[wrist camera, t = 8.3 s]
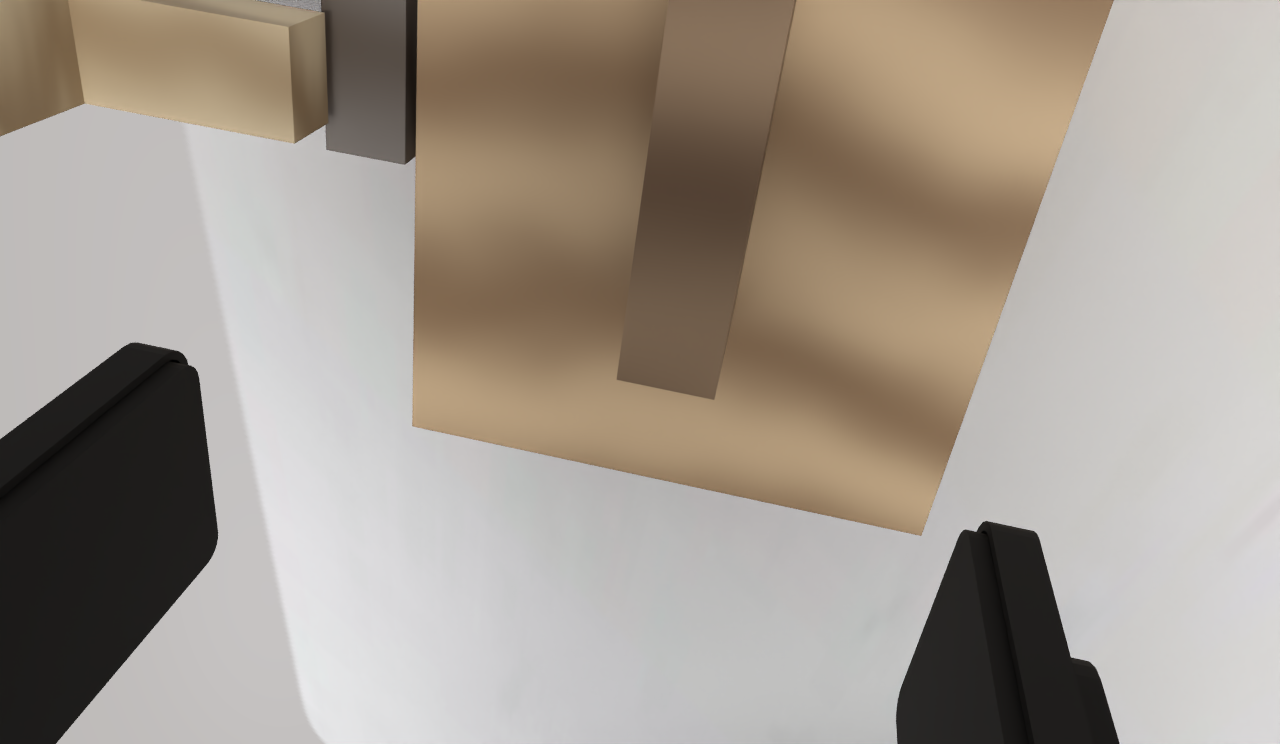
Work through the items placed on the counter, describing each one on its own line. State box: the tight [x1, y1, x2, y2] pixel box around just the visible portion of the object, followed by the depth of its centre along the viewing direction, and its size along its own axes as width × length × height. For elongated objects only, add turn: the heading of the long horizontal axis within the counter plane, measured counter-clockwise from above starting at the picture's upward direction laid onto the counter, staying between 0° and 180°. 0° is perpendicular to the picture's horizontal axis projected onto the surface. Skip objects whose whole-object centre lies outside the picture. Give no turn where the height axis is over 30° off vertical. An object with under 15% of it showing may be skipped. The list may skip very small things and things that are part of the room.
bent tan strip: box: [0, 0, 328, 144], centre depth 24 cm, size 3×9×8 cm, turn 82°
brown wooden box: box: [321, 0, 418, 165], centre depth 31 cm, size 22×19×11 cm
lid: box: [412, 0, 1114, 536], centre depth 25 cm, size 23×17×6 cm
